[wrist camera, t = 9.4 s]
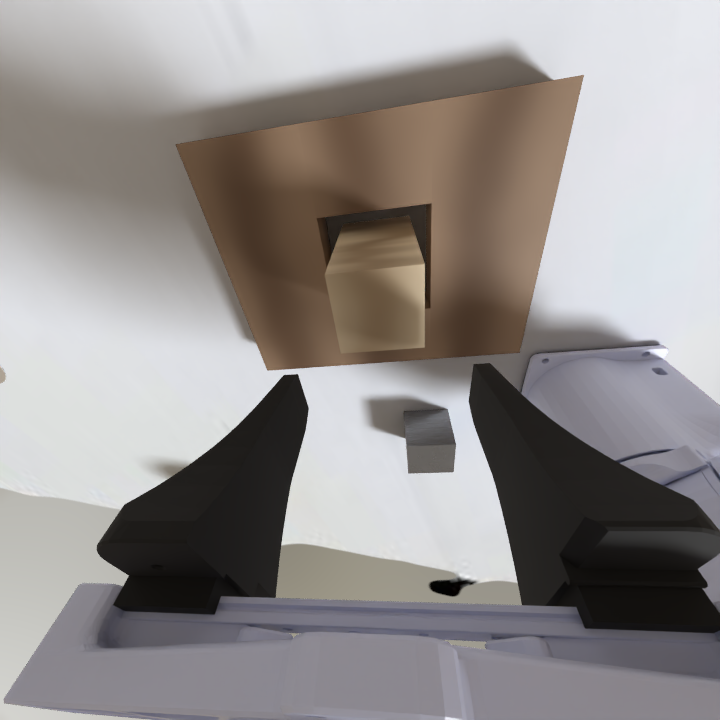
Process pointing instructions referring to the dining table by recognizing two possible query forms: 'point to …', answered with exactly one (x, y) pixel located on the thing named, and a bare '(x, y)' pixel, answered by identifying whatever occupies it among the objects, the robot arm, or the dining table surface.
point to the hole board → (386, 191)
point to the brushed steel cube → (429, 441)
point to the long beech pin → (377, 286)
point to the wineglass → (2, 375)
